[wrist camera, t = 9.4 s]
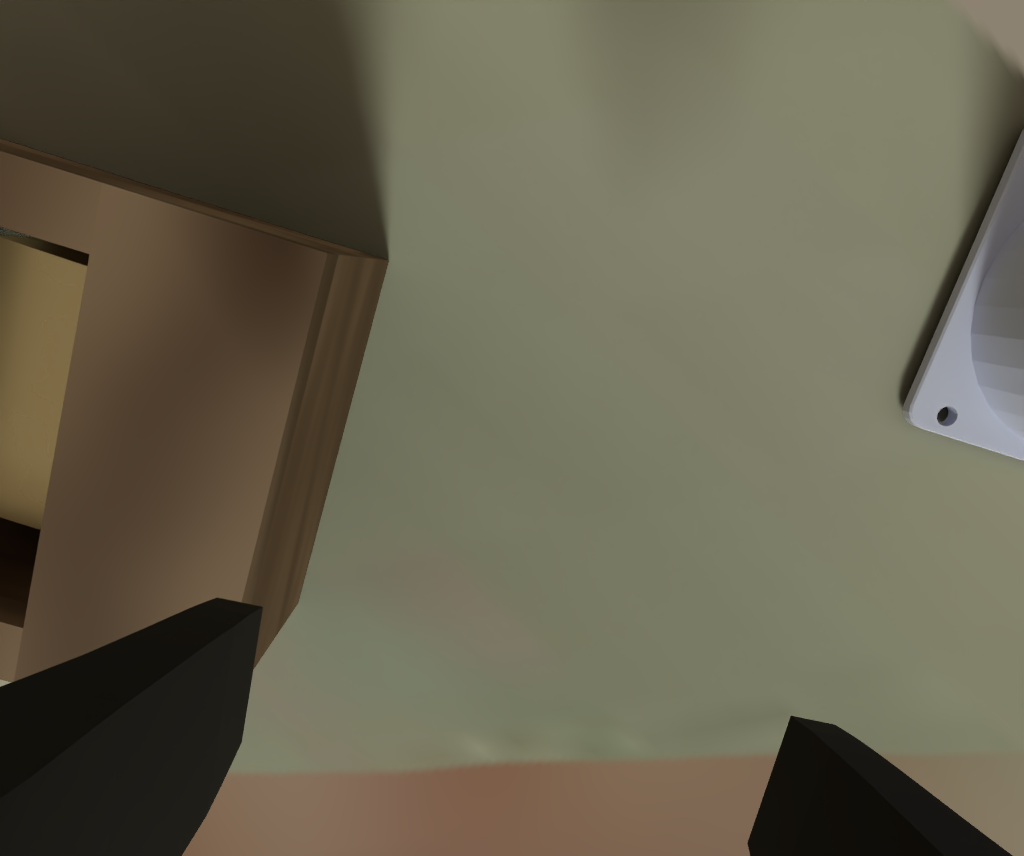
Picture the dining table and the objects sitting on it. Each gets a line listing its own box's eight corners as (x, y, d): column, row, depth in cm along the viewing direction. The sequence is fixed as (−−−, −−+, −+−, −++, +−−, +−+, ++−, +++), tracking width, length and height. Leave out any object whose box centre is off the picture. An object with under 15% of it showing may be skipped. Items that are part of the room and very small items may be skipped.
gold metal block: (196, 274, 19) (109, 273, 15) (146, 483, 20) (54, 534, 16) (103, 243, 18) (-10, 233, 15) (59, 455, 20) (-57, 499, 16)
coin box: (388, 260, 18) (327, 253, 12) (298, 603, 20) (208, 736, 14) (-77, 114, 18) (-374, 34, 12) (-123, 483, 20) (-395, 571, 14)
